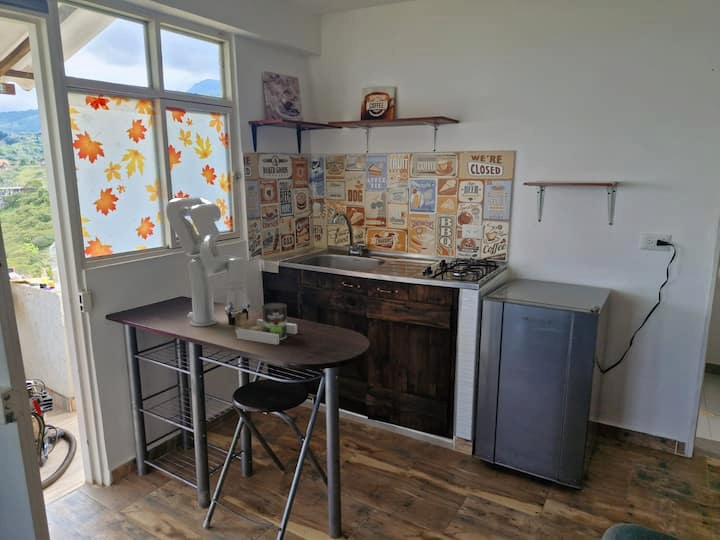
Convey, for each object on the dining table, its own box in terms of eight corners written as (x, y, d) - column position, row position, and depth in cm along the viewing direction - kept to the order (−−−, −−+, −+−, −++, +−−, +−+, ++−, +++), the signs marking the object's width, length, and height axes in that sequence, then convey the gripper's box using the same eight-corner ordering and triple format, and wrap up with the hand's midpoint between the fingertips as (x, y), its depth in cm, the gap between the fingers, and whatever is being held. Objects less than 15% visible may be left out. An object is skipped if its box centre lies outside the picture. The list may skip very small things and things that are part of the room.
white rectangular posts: (236, 338, 213) (236, 329, 212) (259, 327, 229) (259, 319, 228) (276, 344, 206) (276, 335, 205) (297, 332, 221) (297, 324, 220)
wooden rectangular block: (234, 332, 221) (233, 314, 220) (239, 330, 225) (239, 312, 223) (257, 336, 217) (256, 317, 215) (262, 333, 220) (261, 315, 219)
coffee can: (288, 339, 212) (288, 307, 209) (264, 341, 209) (263, 309, 207) (285, 332, 222) (285, 301, 219) (262, 334, 219) (261, 303, 216)
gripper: (241, 280, 228) (243, 316, 231) (217, 288, 212) (219, 326, 216) (255, 282, 225) (256, 318, 228) (231, 290, 209) (233, 329, 213)
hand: (238, 322), depth 222 cm, fingers open, 9 cm apart
